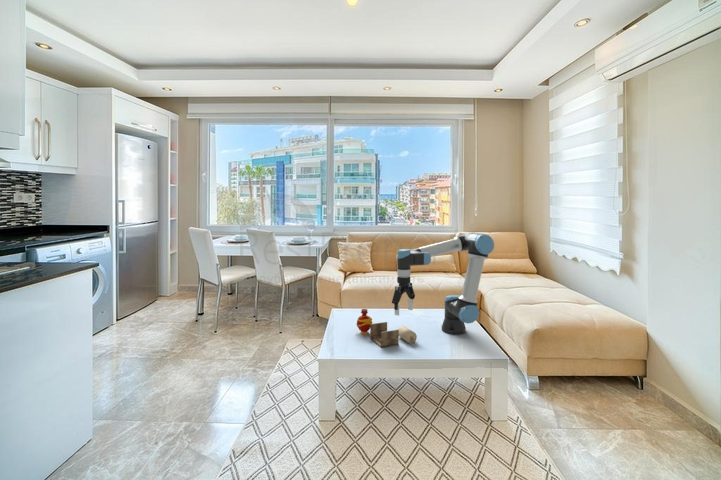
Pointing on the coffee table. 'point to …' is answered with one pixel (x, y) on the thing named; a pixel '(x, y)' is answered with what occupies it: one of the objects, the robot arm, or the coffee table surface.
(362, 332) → the potion bottle
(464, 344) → the coffee table surface
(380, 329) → the holder
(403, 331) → the roll
